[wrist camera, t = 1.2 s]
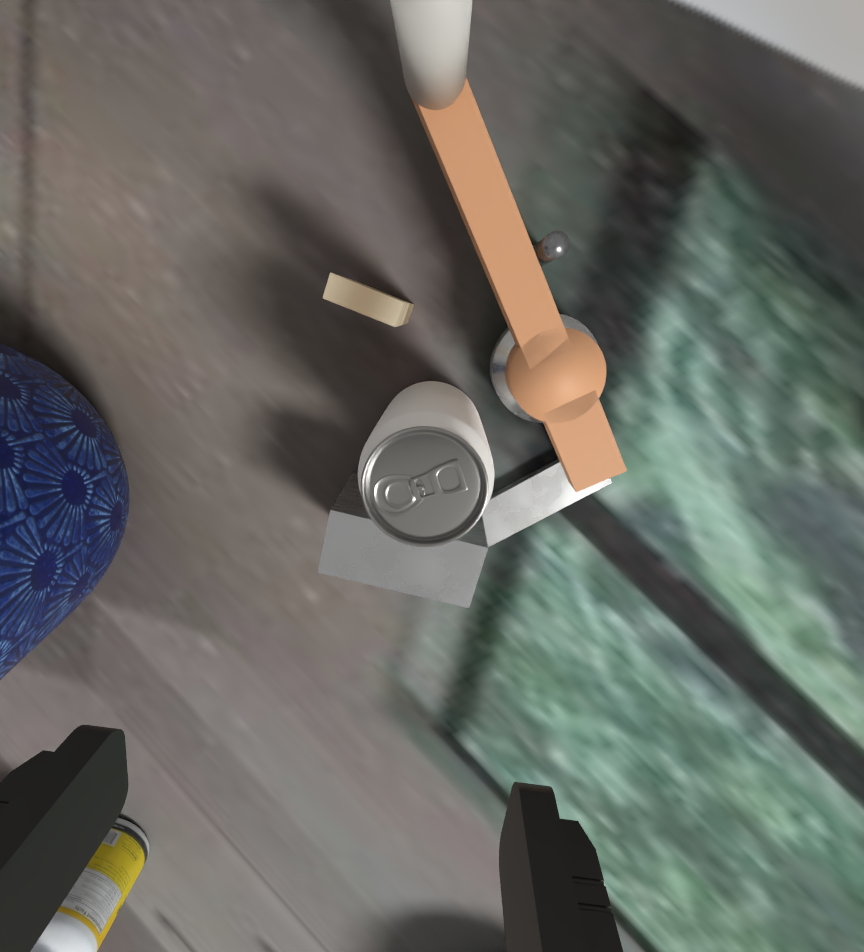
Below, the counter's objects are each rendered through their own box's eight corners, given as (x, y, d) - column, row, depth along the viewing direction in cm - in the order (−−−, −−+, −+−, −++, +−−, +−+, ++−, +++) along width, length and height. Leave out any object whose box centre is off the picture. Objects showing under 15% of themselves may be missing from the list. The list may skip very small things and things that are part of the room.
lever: (626, 449, 31) (710, 514, 21) (549, 482, 32) (596, 560, 22) (469, 43, 25) (484, -135, 15) (380, 96, 26) (338, -39, 16)
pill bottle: (93, 866, 47) (-15, 1035, 36) (71, 814, 45) (-49, 976, 34) (161, 863, 47) (73, 1033, 36) (142, 810, 45) (43, 973, 34)
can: (368, 398, 33) (328, 444, 22) (463, 365, 32) (473, 395, 21) (402, 487, 35) (381, 573, 24) (493, 458, 34) (516, 532, 23)
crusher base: (540, 241, 30) (567, 222, 23) (647, 458, 34) (696, 494, 27) (265, 415, 34) (220, 440, 27) (389, 593, 38) (377, 653, 31)
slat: (414, 304, 31) (403, 302, 24) (407, 323, 32) (395, 327, 24) (358, 282, 31) (330, 272, 23) (352, 301, 31) (322, 298, 24)
